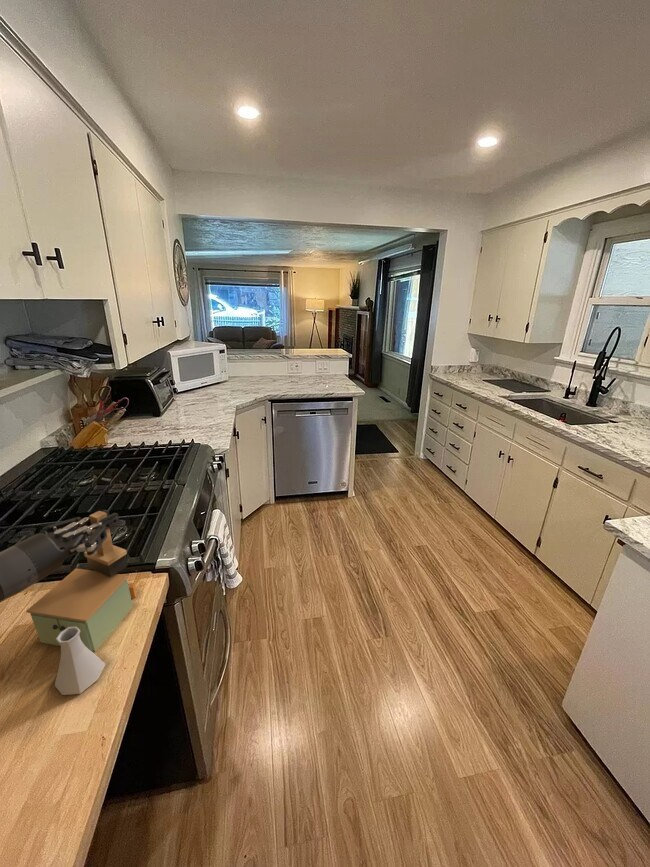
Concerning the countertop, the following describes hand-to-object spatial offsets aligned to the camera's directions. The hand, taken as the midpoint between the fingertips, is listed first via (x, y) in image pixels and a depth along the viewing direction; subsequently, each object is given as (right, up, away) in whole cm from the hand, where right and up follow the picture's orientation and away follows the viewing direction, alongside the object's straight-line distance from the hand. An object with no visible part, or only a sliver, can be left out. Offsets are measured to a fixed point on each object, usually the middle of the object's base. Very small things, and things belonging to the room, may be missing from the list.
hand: (112, 515), depth 76 cm
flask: (+2, -26, -12) cm, 29 cm away
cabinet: (-3, -22, -2) cm, 22 cm away
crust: (+1, -18, +4) cm, 19 cm away
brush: (-1, -11, +1) cm, 11 cm away
